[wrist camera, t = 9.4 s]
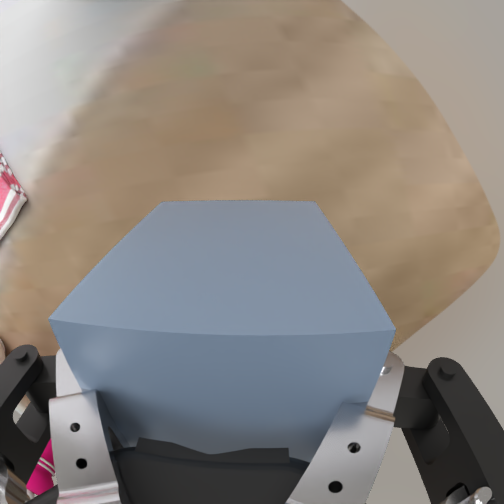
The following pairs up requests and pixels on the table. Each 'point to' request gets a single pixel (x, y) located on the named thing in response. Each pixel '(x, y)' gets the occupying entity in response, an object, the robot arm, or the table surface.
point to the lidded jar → (2, 352)
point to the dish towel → (9, 197)
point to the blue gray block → (227, 327)
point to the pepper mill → (42, 473)
